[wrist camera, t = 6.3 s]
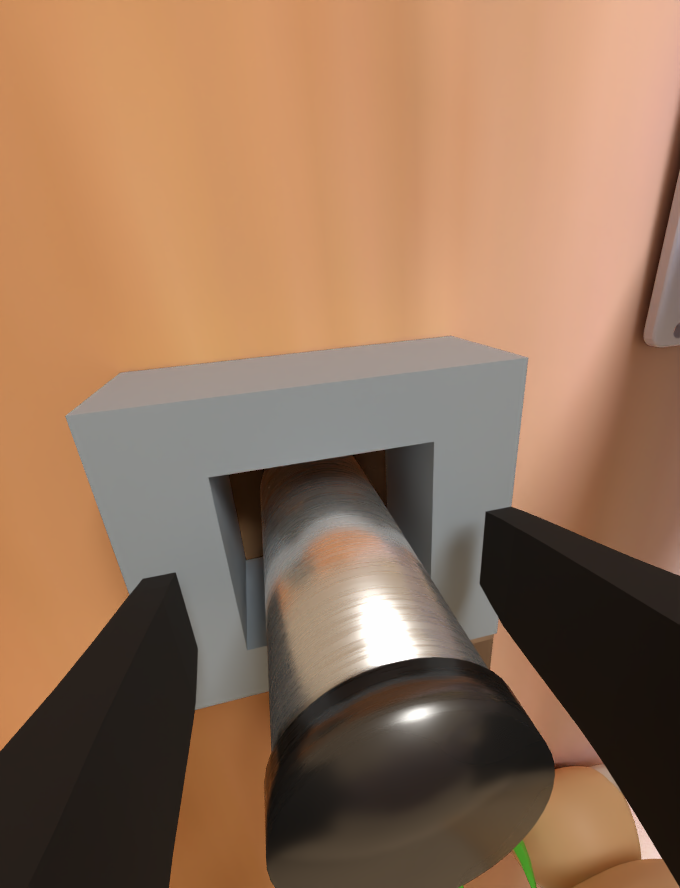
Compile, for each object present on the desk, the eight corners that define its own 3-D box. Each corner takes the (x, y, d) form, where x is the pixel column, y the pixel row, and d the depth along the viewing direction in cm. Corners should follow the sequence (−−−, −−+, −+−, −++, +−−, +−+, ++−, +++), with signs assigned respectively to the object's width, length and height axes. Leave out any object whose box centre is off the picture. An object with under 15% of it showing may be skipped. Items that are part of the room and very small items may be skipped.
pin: (377, 444, 12) (598, 709, 4) (352, 539, 14) (498, 893, 6) (266, 427, 12) (298, 720, 4) (249, 530, 13) (244, 938, 5)
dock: (451, 335, 12) (528, 357, 9) (442, 557, 15) (496, 633, 12) (119, 372, 10) (65, 415, 7) (189, 611, 13) (173, 715, 10)
